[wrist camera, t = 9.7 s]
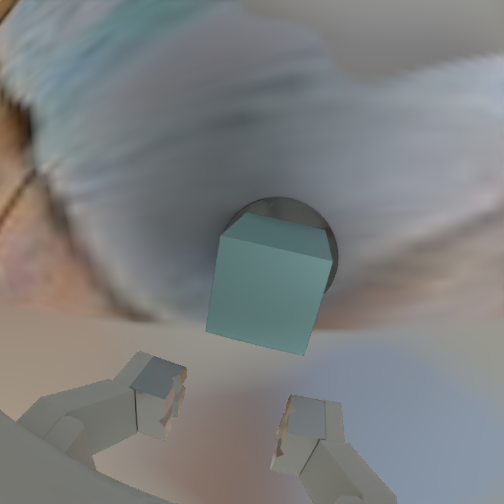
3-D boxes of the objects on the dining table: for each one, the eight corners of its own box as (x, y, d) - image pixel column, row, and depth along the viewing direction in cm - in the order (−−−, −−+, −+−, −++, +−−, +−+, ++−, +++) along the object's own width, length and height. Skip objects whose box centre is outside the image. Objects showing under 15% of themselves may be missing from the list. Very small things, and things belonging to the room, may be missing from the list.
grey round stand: (213, 294, 24) (188, 331, 18) (232, 186, 21) (206, 195, 16) (320, 319, 23) (321, 364, 18) (350, 212, 20) (364, 231, 15)
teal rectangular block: (233, 284, 23) (205, 331, 16) (246, 212, 21) (220, 235, 15) (306, 302, 22) (303, 355, 16) (325, 230, 20) (332, 261, 14)
